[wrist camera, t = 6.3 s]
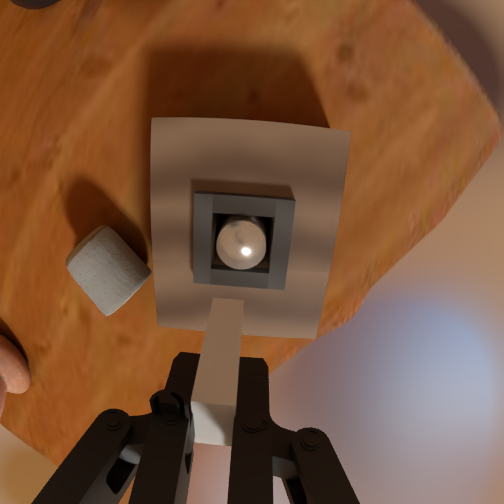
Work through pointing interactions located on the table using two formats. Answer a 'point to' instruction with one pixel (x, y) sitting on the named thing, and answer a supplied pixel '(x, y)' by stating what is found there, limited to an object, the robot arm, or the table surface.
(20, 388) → the ceramic jug
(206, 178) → the socket block
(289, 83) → the table surface
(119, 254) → the ceramic mug
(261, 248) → the peg
